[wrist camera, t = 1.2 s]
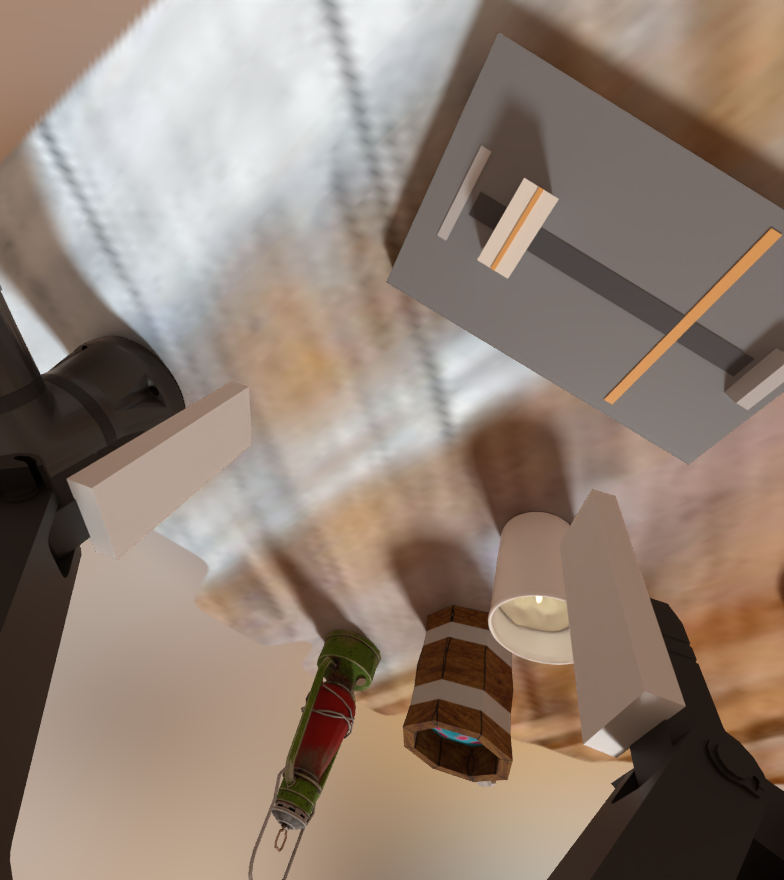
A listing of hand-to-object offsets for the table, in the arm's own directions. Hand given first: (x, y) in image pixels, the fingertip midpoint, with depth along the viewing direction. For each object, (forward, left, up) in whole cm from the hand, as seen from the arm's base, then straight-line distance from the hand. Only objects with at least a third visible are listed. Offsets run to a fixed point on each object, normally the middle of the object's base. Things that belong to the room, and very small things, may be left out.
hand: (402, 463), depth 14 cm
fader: (-1, +8, -21) cm, 22 cm away
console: (+7, +8, -24) cm, 26 cm away
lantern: (+13, -59, -24) cm, 66 cm away
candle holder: (+20, -17, -24) cm, 36 cm away
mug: (+27, -41, -24) cm, 55 cm away
